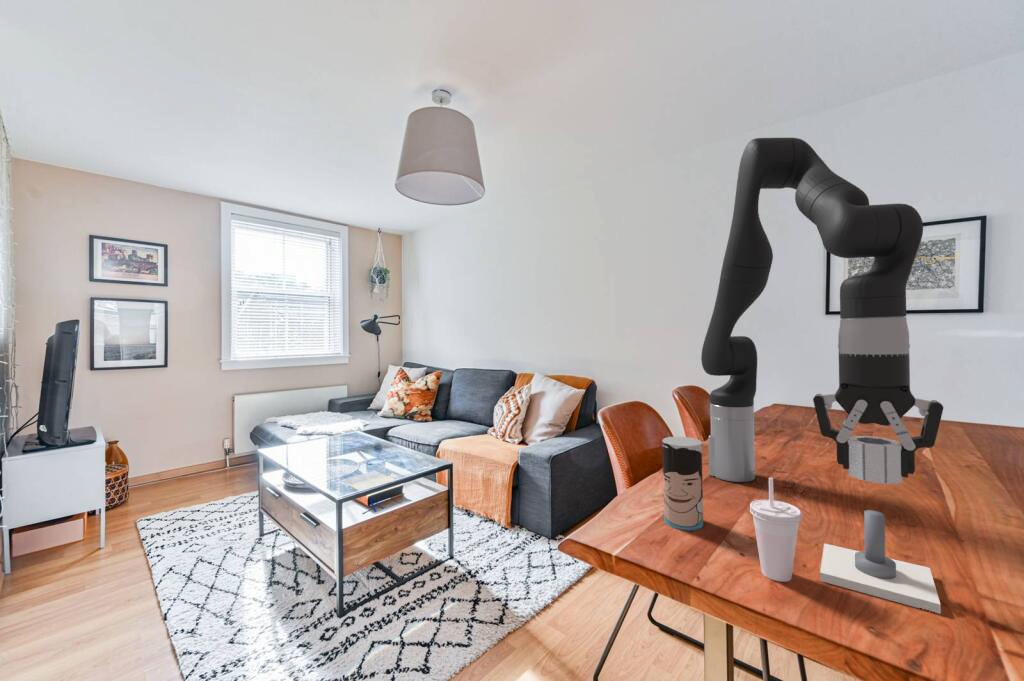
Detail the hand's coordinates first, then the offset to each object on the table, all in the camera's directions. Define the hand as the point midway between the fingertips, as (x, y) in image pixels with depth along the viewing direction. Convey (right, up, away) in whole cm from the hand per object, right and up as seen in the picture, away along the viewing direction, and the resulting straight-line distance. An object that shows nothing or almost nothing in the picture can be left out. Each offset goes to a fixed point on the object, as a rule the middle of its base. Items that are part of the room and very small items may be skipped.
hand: (874, 471), depth 60 cm
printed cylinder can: (-19, -15, +20) cm, 31 cm away
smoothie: (-12, -16, +2) cm, 20 cm away
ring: (0, -1, 0) cm, 1 cm away
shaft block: (0, -15, 0) cm, 15 cm away
